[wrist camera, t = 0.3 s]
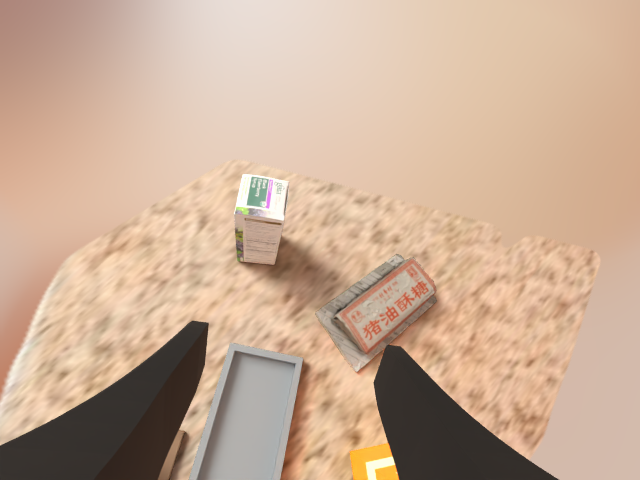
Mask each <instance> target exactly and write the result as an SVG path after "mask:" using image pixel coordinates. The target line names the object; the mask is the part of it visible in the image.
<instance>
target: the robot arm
mask: <svg viewBox="0 0 640 480" xmlns="http://www.w3.org/2000/svg"><path fill="white" fill-rule="evenodd" d="M208 325H209V323H206V322H198V321H191V322H190V323H188V324H187V325H186V326H185V327H184V328H183V329H182V330H181V331H180V332H179V333H178V334H176V335H175V336H174V337H173V338H172V339H171V340H170V341H168V342H167V343H166V344H165V345H164V346H163V347H161V348H160V349H159V350H158V351H157V352H155V353H154V354H153V355H152V356H150V357H149V358H148V359H147V360H145V361H144V362H143V363H141V364H140V365H139V366H137V367H136V368H135V369H133V370H132V371H131V372H129V373H128V374H127V375H125V376H124V377H122V378H121V379H120V380H118V381H117V382H115V383H114V384H112V385H111V386H109V387H108V388H106V389H105V390H103V391H101V392H100V393H98V394H97V395H95V396H94V397H92V398H90V399H89V400H87V401H85V402H84V403H82V404H80V405H78V406H77V407H75V408H73V409H71V410H70V411H68V412H66V413H64V414H63V415H61V416H59V417H57V418H55V419H53V420H51V421H50V422H48V423H46V424H44V425H42V426H40V427H38V428H36V429H34V430H32V431H30V432H28V433H26V434H24V435H22V436H20V437H18V438H16V439H13V440H11V441H9V442H7V443H5V444H3V445H1V446H0V480H158V478H159V475H160V472H161V469H162V467H163V464H164V462H165V459H166V457H167V455H168V452H169V450H170V448H171V446H172V443H173V441H174V439H175V437H176V435H177V432H178V430H179V428H180V426H181V424H182V421H183V419H184V417H185V415H186V413H187V410H188V408H189V406H190V404H191V402H192V399H193V397H194V395H195V393H196V390H197V387H198V384H199V381H200V378H201V375H202V372H203V369H204V366H205V356H206V346H207V335H208ZM374 388H375V395H376V400H377V406H378V410H379V414H380V417H381V420H382V424H383V427H384V431H385V434H386V437H387V440H388V444H389V447H390V450H391V454H392V457H393V460H394V464H395V467H396V470H397V474H398V478H399V480H558V479H557V478H555V477H554V476H552V475H551V474H549V473H547V472H546V471H544V470H543V469H541V468H539V467H538V466H537V465H535V464H534V463H532V462H531V461H529V460H528V459H526V458H525V457H523V456H522V455H521V454H519V453H518V452H516V451H515V450H514V449H512V448H511V447H510V446H508V445H507V444H505V443H504V442H503V441H501V440H500V439H499V438H497V437H496V436H495V435H494V434H492V433H491V432H490V431H488V430H487V429H486V428H485V427H484V426H482V425H481V424H480V423H479V422H478V421H476V420H475V419H474V418H473V417H471V416H470V415H469V414H468V413H467V412H466V411H465V410H464V409H462V408H461V407H460V406H459V405H458V404H457V403H456V402H455V401H454V400H453V399H452V398H451V397H450V396H448V395H447V394H446V393H445V392H444V391H443V390H442V389H441V388H440V387H439V386H438V385H437V384H436V383H435V382H434V381H433V380H432V379H431V378H430V377H429V375H428V374H427V373H426V372H425V371H424V370H423V369H422V368H421V367H420V366H419V365H418V364H417V363H416V362H415V361H414V360H413V359H412V358H411V357H410V356H409V355H408V354H407V352H406V351H405V350H403V349H402V348H401V347H399V346H391V345H386V348H385V351H384V354H383V357H382V360H381V363H380V366H379V369H378V371H377V374H376V377H375V380H374Z"/></svg>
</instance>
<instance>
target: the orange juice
mask: <svg viewBox="0 0 640 480" xmlns="http://www.w3.org/2000/svg"><path fill="white" fill-rule="evenodd" d="M350 456H351V463H352V470H353V477H354V480H399V478H398V474H397V470H396V467H395V464H394V460H393V457H392V454H391V450H390V447H389V444H388V443H387V444H382V445H378V446H373V447H368V448H364V449H359V450H354V451H350Z"/></svg>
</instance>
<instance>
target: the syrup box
mask: <svg viewBox="0 0 640 480" xmlns="http://www.w3.org/2000/svg"><path fill="white" fill-rule="evenodd" d="M288 191H289V182H287V181H283V180H279V179H274V178H269V177H264V176H257V175H248V174H243V175H242V180H241V185H240V189H239V194H238V199H237V204H236V208H235V213H234V222H235V236H236V248H237V261H242V262H252V263H261V264H271V265H275V261H276V257H277V253H278V248H279V243H280V239H281V235H282V230H283V225H284V220H285V213H286V207H287V201H288Z"/></svg>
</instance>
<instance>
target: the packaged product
mask: <svg viewBox="0 0 640 480" xmlns="http://www.w3.org/2000/svg"><path fill="white" fill-rule="evenodd" d="M435 293H436V287H435V285H434V281H433V280H432V279H430V278H429V276H428V275H427V274H426V273H425V271H424V269H423V268H422V267H421V265H420V264H418V262H417V261H416V260H415V258H414V257H412V258H409V259H407V260H404V259H403V257H402V256H401V255H398V254H396V255H394V256H393V257H392V258H390V259H389V260H388V261H386V262H385V263H384V264H382V265H381V266H379V267H378V268H376V269H375V270H374V271H372V272H371V273H369V274H368V275H367V276H365V277H364V278H363V279H361V280H360V281H358V282H357V283H355V284H354V285H352V286H351V287H350V288H349V289H347V290H346V291H345V292H343V293H342V294H340V295H339V296H338V297H336V298H335V299H333V300H332V301H330V302H329V303H328V304H326V305H325V306H323V307H322V308H321V309H319V310H318V311H317V312H316V316H317V318H318V320H319V321H320V323H321V324H322V326H323V327H324V328H325V330H326V331H327V333H328V334H329V335H330V337H331V339H332V340H333V342H334V343H335V345H336V346H337V348H338V349H339V351H340V352H341V354H342V355H343V357H344V358H345V360H346V361H347V362H348V364H349V365H350V366H351V367H352V368H353V370H354V371H355V372H358V371H359V370H360V369H361V368H362V367H363V366H365V365H366V364H367V363H368V362H369V361H370V360H372V359H373V358H374V357H375V356H376V355H377V354H378V353H379V352H380V351H382V350H383V349H384V348H385V347H386V345H388V344H389V343H391V342H392V341H393V340H394V339H395V338H396V337H397V336H399V335H400V334H401V333H402V332H403V331H404V330H405V329H406V328H407V327H408V326H409V325H411V324H412V323H413V322H414V321H416V320H417V319H418V318H419V317H420V316H421V315H422V314H423V313H424V312H425V311H427V310H428V309H429V308H430V307H431V306H432V305H433V304H435V303H436V302H437V300H436V298H435V297H434V296H433V295H434V294H435Z"/></svg>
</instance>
